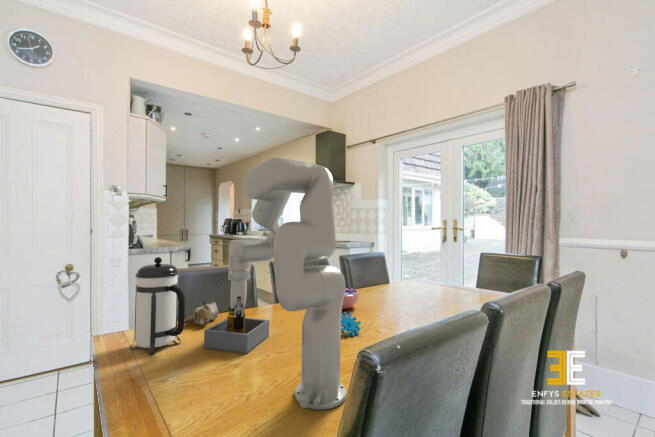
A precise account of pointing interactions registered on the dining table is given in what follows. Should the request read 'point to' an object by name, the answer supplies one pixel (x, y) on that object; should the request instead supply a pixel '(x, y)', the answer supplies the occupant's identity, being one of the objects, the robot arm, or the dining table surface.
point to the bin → (236, 336)
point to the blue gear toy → (349, 324)
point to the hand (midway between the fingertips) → (238, 324)
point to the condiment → (231, 322)
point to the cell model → (350, 298)
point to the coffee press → (158, 306)
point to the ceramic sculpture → (203, 314)
